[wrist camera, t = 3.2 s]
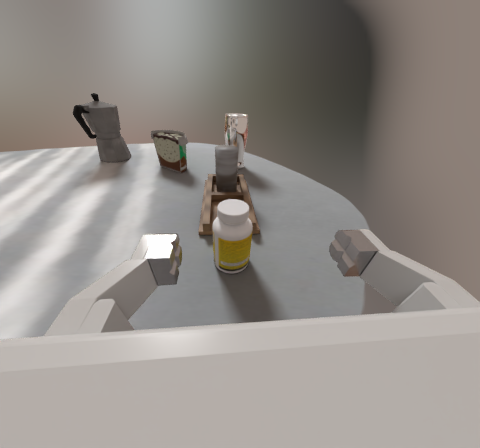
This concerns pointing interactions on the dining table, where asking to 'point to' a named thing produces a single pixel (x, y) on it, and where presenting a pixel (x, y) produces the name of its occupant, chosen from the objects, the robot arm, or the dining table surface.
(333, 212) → the dining table surface
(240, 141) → the beer glass
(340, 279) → the dining table surface
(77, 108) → the coffeepot
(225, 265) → the supplement bottle
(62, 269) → the dining table surface
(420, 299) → the robot arm
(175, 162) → the food container
